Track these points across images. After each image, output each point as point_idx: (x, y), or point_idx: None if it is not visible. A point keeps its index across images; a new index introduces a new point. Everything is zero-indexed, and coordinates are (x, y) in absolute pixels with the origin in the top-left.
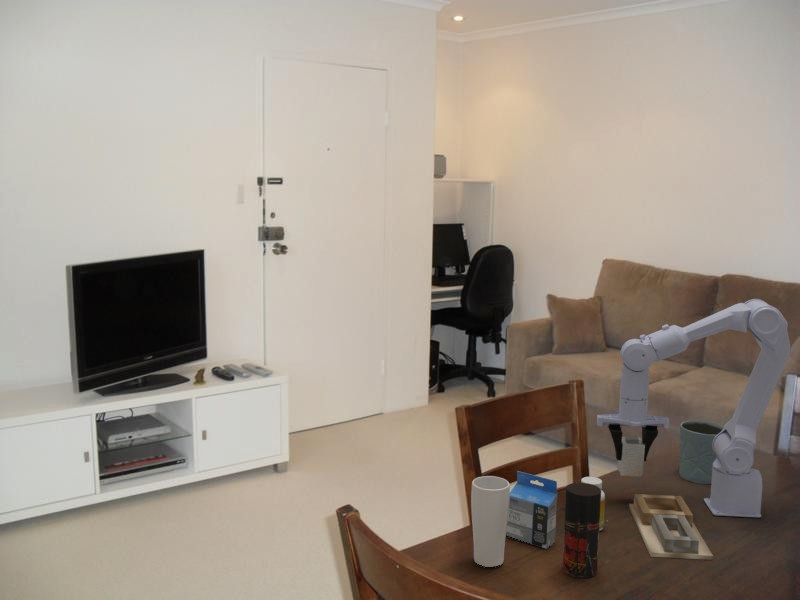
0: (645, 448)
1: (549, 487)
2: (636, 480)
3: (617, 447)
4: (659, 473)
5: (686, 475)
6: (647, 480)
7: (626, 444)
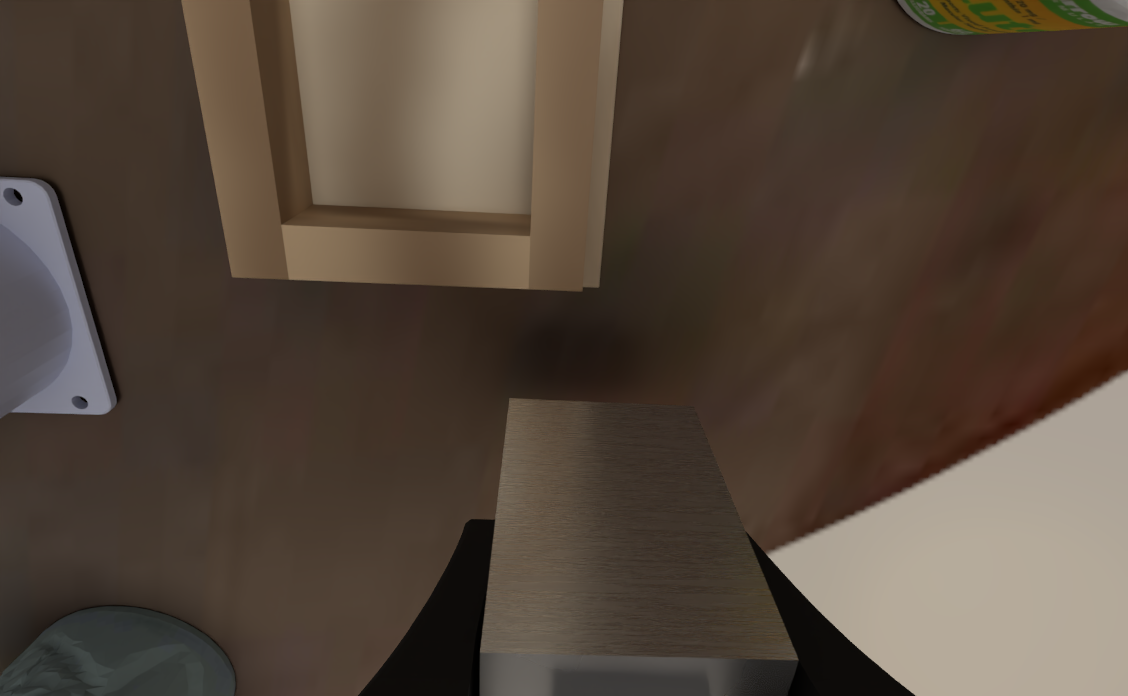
0: (468, 623)
1: None
2: None
3: (818, 626)
4: (336, 689)
5: (194, 657)
6: (411, 617)
7: (744, 647)
